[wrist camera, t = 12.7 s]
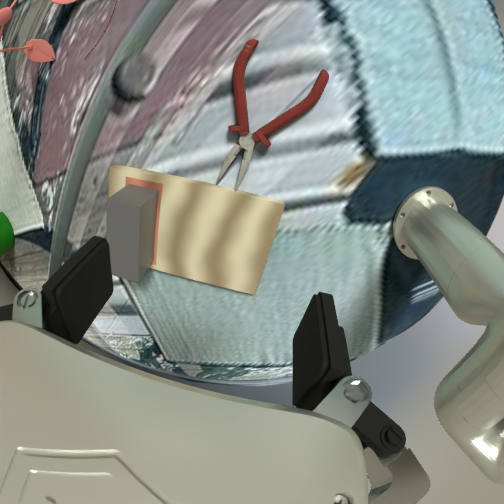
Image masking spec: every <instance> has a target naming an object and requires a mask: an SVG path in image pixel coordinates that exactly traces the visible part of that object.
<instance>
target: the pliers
mask: <svg viewBox="0 0 504 504" xmlns="http://www.w3.org/2000/svg"><path fill="white" fill-rule="evenodd" d="M258 42H259V41H258V40H255V39H252V40H249V41H248V42H247V43H246V44H245V46H244V48H243V49H242V51H241V53H240V54H239V56H238V58H237V60H236V61H235V64H234V68H233V87H234V97H235V107H236V116H237V125H231V126H228V127H229V131H239V135H240V138H239V140H238V141H237V143H236V144H235V145H234V147H233V148H232V149H231V151H230V152H229V154H228V155H227V157H226V159H225V162H224V164H223V167H222V169H221V172H220V174H219V177H218V179H217V182H218V181H219V179H220V178H221V177H222V175H223V174H224V172H225V171H226V169H227V168H228V167H229V165H230V164H231V162H232V161H233V160H234V158H235V157H236V155H237V154H238V152H239V151H240V150H241V148H244V149H245V152H244V157H243V160H242V164H241V168H240V172H239V177H238V181H237V185H236V190H235V192H236V191H237V189H238V187H239V185H240V183H241V181H242V179H243V177H244V175H245V173H246V171H247V169H248V167H249V164H250V160H251V156H252V153H253V148H254V144H255V142H256V141H257V142H259V141H260V140H261V141H262V142H263V144H264V145H265V146H266V147H268V146H270V145H271V142H270V141H269V140H268V138H267V136H269V135H270V134H272V133H273V132H275V131H276V130H278V129H280V128H281V127H283V126H284V125H286V124H287V123H289V122H290V121H292V120H294V119H295V118H297V117H298V116H300V115H301V114H303V113H305V112H306V111H307V110H309V109H310V108H311V107H313V106H314V105H315V104H316V103H317V102H318V100H319V99H320V97H321V95H322V93H323V91H324V88H325V86H326V84H327V82H328V80H329V74H328V72H327V71H326V70H324V69H322V70H321V72H320V74H319V76H318V78H317V80H316V82H315V84H314V86H313V88H312V90H311V92H310V93H309V95H308V96H307V97H306V98H305V99H304V100H303V101H301V102H300V103H299V104H297V105H296V106H294V107H292V108H291V109H289V110H288V111H286V112H284V113H283V114H281V115H280V116H278V117H277V118H275V119H274V120H272V121H271V122H269V123H268V124H266V125H265V126H263V127H262V128H260V129H259V130H257V131H256V132H254V133H253V134H252V133H249V123H248V113H247V103H246V92H245V82H244V74H245V68H246V65H247V62H248V61H249V59H250V57H251V55H252V54H253V52H254V50H255V48H256V46H257V45H258ZM217 182H216V183H217Z"/></svg>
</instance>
